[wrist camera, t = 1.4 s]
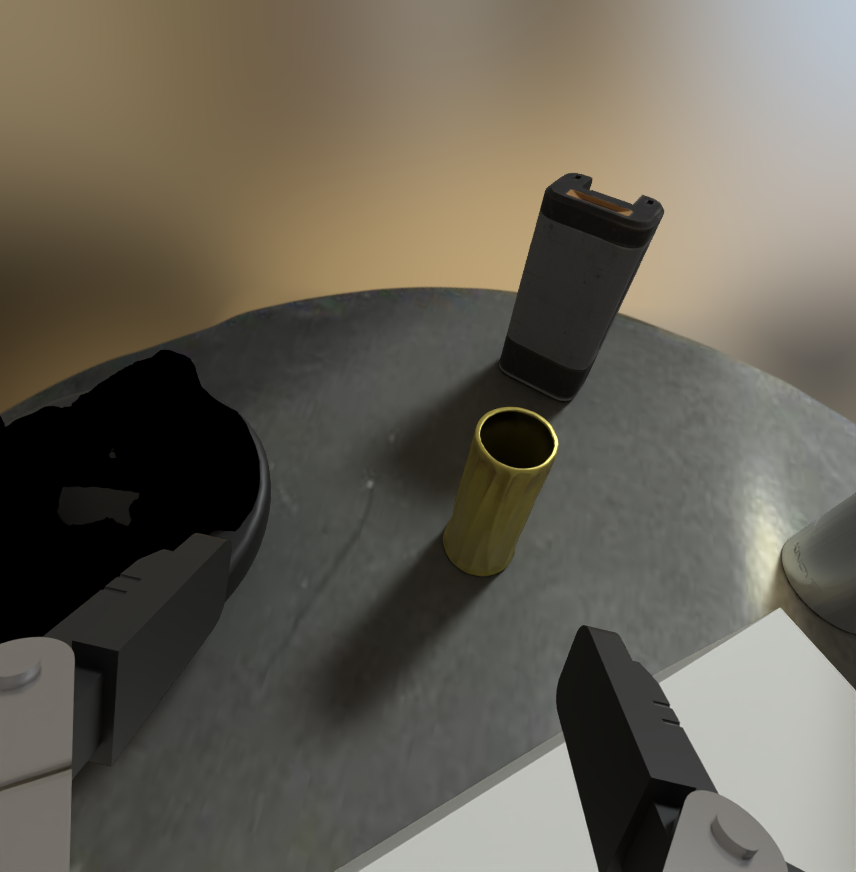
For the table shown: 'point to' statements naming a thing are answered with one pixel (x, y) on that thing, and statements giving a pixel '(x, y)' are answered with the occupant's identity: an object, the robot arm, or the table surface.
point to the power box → (714, 744)
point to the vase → (499, 488)
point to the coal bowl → (121, 488)
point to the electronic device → (574, 283)
